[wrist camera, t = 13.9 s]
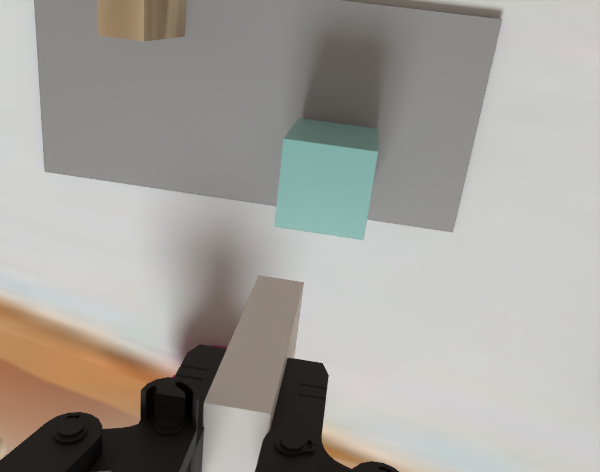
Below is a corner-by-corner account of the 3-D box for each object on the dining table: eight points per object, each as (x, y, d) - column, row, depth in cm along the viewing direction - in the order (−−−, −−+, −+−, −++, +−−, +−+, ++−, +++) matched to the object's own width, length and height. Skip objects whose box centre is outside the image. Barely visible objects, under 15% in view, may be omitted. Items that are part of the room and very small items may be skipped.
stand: (49, 169, 42) (44, 171, 42) (37, -36, 37) (31, -37, 37) (451, 229, 40) (452, 232, 40) (499, 19, 35) (501, 19, 34)
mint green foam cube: (290, 193, 39) (274, 226, 33) (298, 118, 37) (283, 138, 31) (365, 204, 39) (363, 240, 32) (378, 128, 37) (378, 151, 31)
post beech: (146, 31, 37) (97, 35, 31) (146, -12, 36) (96, -17, 30) (184, 36, 37) (143, 41, 31) (186, -7, 36) (144, -11, 30)
